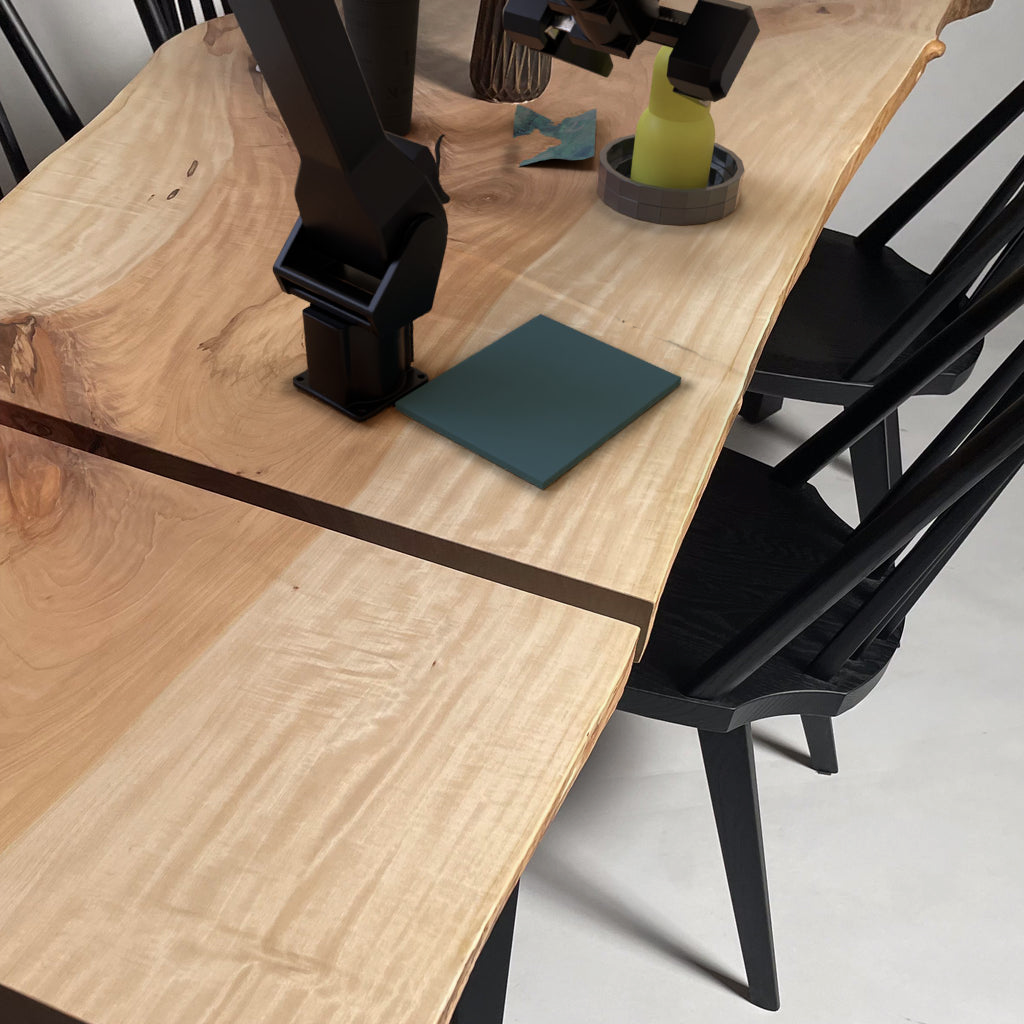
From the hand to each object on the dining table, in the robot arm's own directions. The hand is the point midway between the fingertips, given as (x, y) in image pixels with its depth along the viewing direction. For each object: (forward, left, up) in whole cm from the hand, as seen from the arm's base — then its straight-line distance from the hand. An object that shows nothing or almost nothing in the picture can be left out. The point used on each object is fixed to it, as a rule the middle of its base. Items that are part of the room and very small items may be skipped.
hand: (657, 86), depth 86 cm
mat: (-27, -10, -11) cm, 31 cm away
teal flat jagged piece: (+6, +14, -11) cm, 19 cm away
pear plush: (+4, 0, -10) cm, 11 cm away
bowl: (+4, 0, -11) cm, 11 cm away
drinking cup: (-2, +28, -11) cm, 30 cm away
